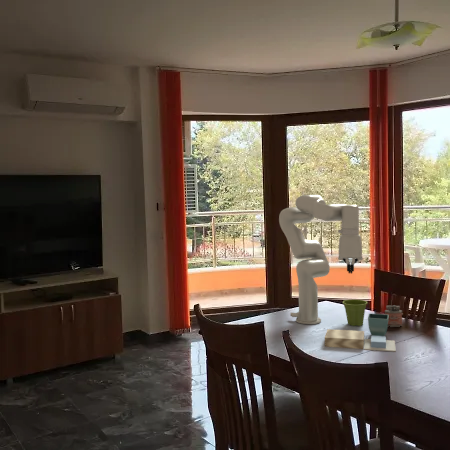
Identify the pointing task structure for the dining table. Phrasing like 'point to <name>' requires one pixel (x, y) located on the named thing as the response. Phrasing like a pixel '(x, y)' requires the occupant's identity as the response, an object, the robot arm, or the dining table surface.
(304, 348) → the dining table surface
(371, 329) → the flower pot
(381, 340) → the light blue block
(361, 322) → the plant pot
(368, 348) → the mat
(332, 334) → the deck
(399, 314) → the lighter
